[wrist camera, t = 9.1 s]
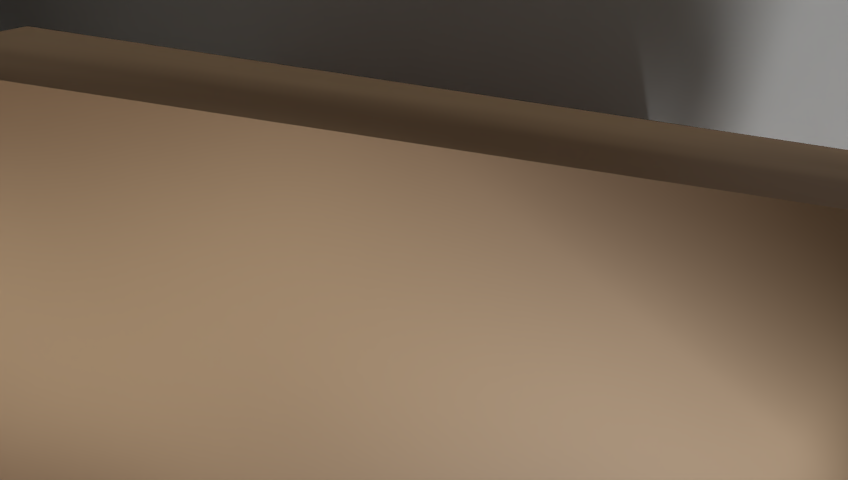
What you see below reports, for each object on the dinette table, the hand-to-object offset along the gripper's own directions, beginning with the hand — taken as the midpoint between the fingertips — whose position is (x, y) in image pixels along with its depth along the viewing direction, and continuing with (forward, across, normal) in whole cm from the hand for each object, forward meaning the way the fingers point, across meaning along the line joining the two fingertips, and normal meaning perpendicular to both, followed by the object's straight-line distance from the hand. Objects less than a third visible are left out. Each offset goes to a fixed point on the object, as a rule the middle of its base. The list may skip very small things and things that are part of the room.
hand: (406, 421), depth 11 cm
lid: (0, 0, 0) cm, 0 cm away
